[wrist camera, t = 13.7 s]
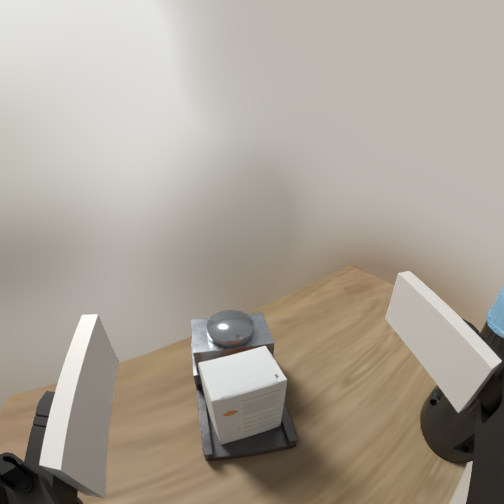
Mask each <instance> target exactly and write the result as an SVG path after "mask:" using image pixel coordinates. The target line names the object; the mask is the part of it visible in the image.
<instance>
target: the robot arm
mask: <svg viewBox="0 0 504 504" xmlns="http://www.w3.org/2000/svg"><path fill="white" fill-rule="evenodd" d="M385 319H386V320H387V322H388V323H389V324H390V325H391V326H392V328H393V329H394V330H395V331H396V333H397V334H398V335H399V336H400V337H401V339H402V340H403V341H404V342H405V344H406V345H407V346H408V347H409V349H410V350H411V351H412V352H413V354H414V355H415V356H416V358H417V359H418V360H419V361H420V363H421V364H422V365H423V366H424V368H425V369H426V370H427V372H428V373H429V374H430V376H431V377H432V378H433V380H434V381H435V382H436V384H437V386H436V387H435V388H434V389H433V390H432V392H431V393H430V395H429V396H428V398H427V399H426V401H425V402H424V405H423V407H422V411H421V429H422V432H423V435H424V438H425V440H426V441H427V443H428V445H429V446H430V447H431V449H432V450H433V451H434V452H435V453H437V454H438V455H439V456H441V457H442V458H444V459H446V460H449V461H452V462H457V463H465V462H470V461H473V465H472V473H471V479H470V486H469V491H468V497H467V502H466V504H504V286H503V287H502V289H501V291H500V293H499V295H498V297H497V299H496V301H495V303H494V305H493V307H491V308H490V310H489V312H488V315H487V321H486V323H485V325H484V327H483V328H482V330H481V332H480V333H479V331H478V330H477V329H476V328H475V327H474V326H473V325H472V324H471V323H469V322H468V321H466V320H464V319H463V318H462V319H461V318H460V317H459V316H458V315H457V314H456V313H455V312H454V311H453V310H452V309H451V308H450V307H449V306H448V305H447V304H445V302H444V301H443V300H441V299H440V298H439V297H438V296H437V295H436V294H435V293H434V292H433V291H431V289H429V288H428V287H427V286H426V285H425V284H424V283H423V282H422V281H420V280H419V279H418V278H417V277H416V276H415V275H414V274H412V273H411V272H410V271H407V272H403V273H398V275H397V279H396V283H395V287H394V290H393V294H392V297H391V301H390V304H389V308H388V311H387V314H386V317H385ZM118 362H119V361H118V358H117V356H116V354H115V352H114V350H113V348H112V346H111V343H110V341H109V339H108V337H107V334H106V332H105V330H104V327H103V325H102V323H101V321H100V318H99V315H98V314H94V315H82V317H81V319H80V322H79V324H78V327H77V329H76V332H75V334H74V337H73V340H72V342H71V345H70V348H69V351H68V354H67V357H66V360H65V362H64V365H63V369H62V372H61V375H60V378H59V381H58V385H57V388H56V391H55V392H49V391H46V392H45V394H44V395H43V397H42V398H41V399H40V401H39V403H38V406H37V410H36V416H35V417H34V421H33V426H32V429H31V433H30V437H29V442H28V447H27V451H26V457H25V461H24V462H23V461H22V460H21V459H19V458H18V457H17V456H15V455H14V454H13V453H7V452H6V453H3V454H1V455H0V504H83V503H82V501H81V500H80V499H79V498H78V497H77V491H80V492H81V493H83V494H85V495H88V496H94V497H100V498H105V488H106V462H107V447H108V435H109V425H110V416H111V407H112V400H113V393H114V386H115V379H116V373H117V367H118Z"/></svg>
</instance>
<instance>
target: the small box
mask: <svg viewBox="0 0 504 504" xmlns="http://www.w3.org/2000/svg"><path fill="white" fill-rule="evenodd" d="M198 367H199V372H200V376H201V381H202V386H203V391H204V395H205V399H206V404H207V408H208V412H209V415H210V418H211V421H212V423H213V426H214V429H215V431H216V434H217V436H218V439H219V441H220V444H225V443H229V442H232V441H236V440H239V439H243V438H246V437H249V436H252V435H256V434H259V433H262V432H265V431H267V430H270V429H273V428H276V427H279V426H280V425H281V419H282V413H283V407H284V400H285V394H286V387H287V379H286V377H285V376H284V374H283V372H282V371H281V369H280V368H279V366H278V365H277V363H276V361H275V360H274V358H273V357H272V355H271V353H270V352H269V350H268V349H267V347H266V346H262V347H258V348H255V349H251V350H248V351H244V352H240V353H237V354H233V355H229V356H225V357H221V358H217V359H213V360H209V361H204V362H199V363H198Z"/></svg>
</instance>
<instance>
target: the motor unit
mask: <svg viewBox="0 0 504 504" xmlns="http://www.w3.org/2000/svg"><path fill="white" fill-rule="evenodd" d="M191 325H192V340H191V345H192V361H193V375H194V380H195V384H196V389H197V400H198V410H199V419H200V428H201V437H202V444H203V452H204V456H205V459H206V461H211V460H221V459H230V458H238V457H245V456H251V455H257V454H263V453H268V452H273V451H278V450H283V449H288V448H292V447H295V446H296V443H297V440H298V439H297V437H296V434H295V431H294V428H293V426H292V423H291V420H290V417H289V414H288V412H287V409H286V406H285V403H284V407H283V413H282V419H281V425H280V426H279V427H276V428H273V429H270V430H267V431H265V432H262V433H259V434H256V435H252V436H249V437H246V438H243V439H239V440H236V441H232V442H229V443H225V444H220V441H219V439H218V436H217V434H216V431H215V429H214V426H213V423H212V421H211V418H210V415H209V412H208V408H207V404H206V399H205V395H204V391H203V386H202V381H201V376H200V372H199V367H198V363H199V362H204V361H209V360H213V359H217V358H221V357H225V356H229V355H233V354H237V353H240V352H244V351H248V350H251V349H255V348H258V347H262V346H266V347H267V349H268V350H269V352H270V353H271V355H272V357H273V358H274V356H273V353H274V341H273V338H272V336H271V333H270V331H269V328H268V325H267V323H266V320H265V317H264V315H263V312H261V313H253V314H245V313H243V312H240V311H234V310H228V311H221V312H219V313H216V314H214V315H213V316H212V317H210V318H206V319H196V320H191ZM274 360H275V359H274Z"/></svg>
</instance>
